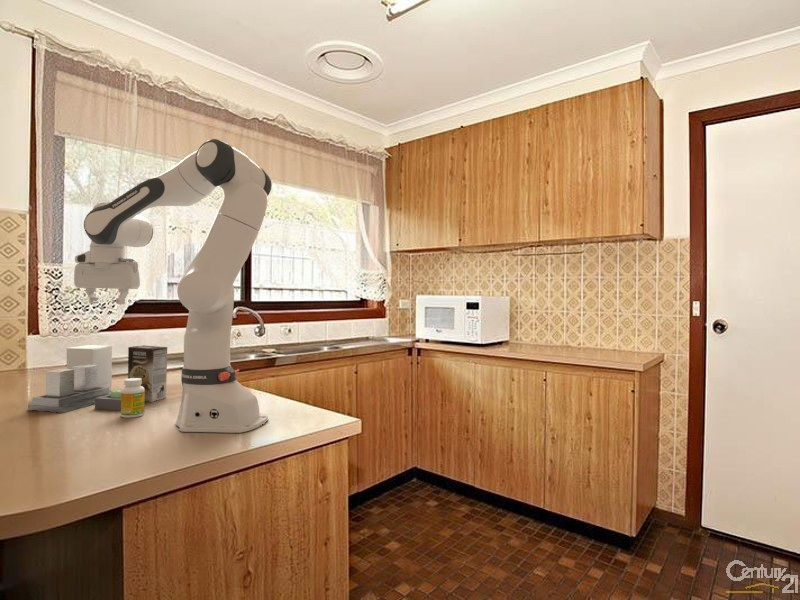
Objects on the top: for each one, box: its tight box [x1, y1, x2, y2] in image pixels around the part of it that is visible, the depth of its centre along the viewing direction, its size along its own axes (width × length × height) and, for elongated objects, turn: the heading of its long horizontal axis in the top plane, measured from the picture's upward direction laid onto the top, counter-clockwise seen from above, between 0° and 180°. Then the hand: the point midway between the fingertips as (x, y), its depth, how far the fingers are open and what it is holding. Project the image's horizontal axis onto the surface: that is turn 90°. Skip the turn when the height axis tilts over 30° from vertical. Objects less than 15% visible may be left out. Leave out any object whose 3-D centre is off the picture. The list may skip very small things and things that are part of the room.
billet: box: [45, 368, 74, 399], centre depth 128 cm, size 4×4×9 cm
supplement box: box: [66, 344, 113, 392], centre depth 147 cm, size 9×9×15 cm
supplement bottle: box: [120, 378, 145, 419], centre depth 122 cm, size 5×5×10 cm
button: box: [109, 389, 122, 398], centre depth 131 cm, size 4×4×3 cm
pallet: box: [27, 364, 110, 414], centre depth 132 cm, size 11×17×10 cm, turn 169°
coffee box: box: [127, 345, 168, 403], centre depth 141 cm, size 9×6×16 cm
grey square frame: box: [94, 393, 121, 412], centre depth 131 cm, size 8×8×3 cm
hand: (106, 303), depth 137 cm, fingers open, 8 cm apart
